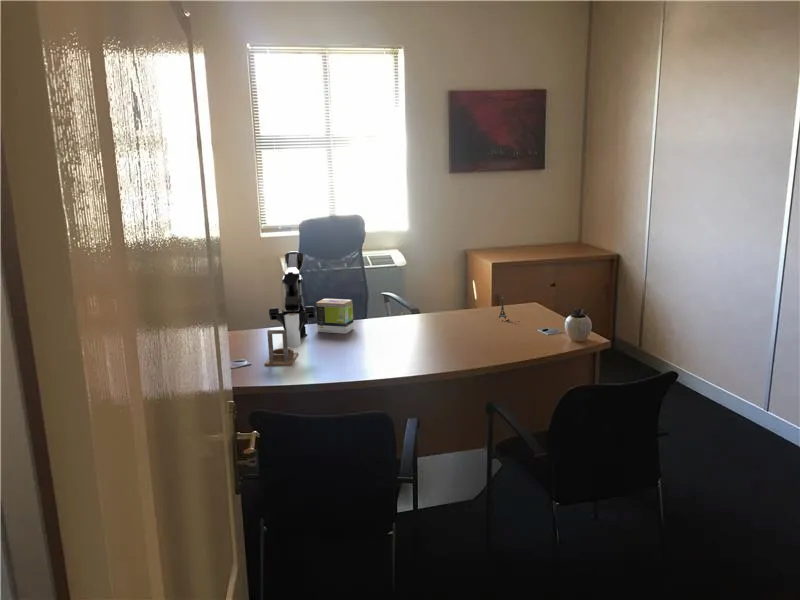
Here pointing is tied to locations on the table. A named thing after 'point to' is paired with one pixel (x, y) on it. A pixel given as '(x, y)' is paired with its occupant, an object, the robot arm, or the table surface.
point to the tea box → (334, 315)
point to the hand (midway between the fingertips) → (292, 330)
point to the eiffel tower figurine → (502, 311)
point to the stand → (280, 351)
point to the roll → (292, 329)
